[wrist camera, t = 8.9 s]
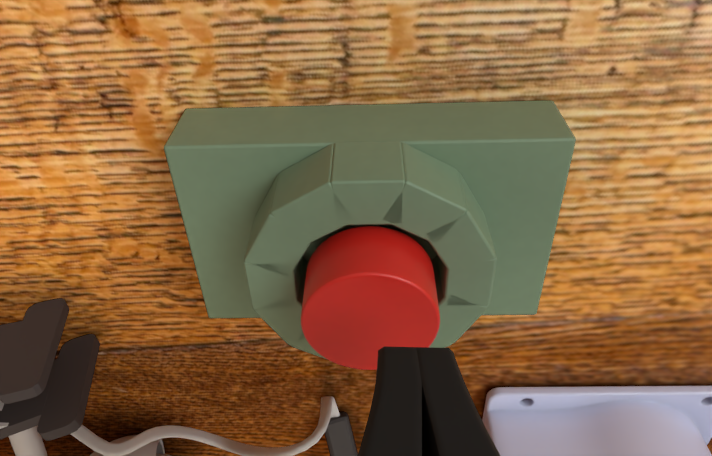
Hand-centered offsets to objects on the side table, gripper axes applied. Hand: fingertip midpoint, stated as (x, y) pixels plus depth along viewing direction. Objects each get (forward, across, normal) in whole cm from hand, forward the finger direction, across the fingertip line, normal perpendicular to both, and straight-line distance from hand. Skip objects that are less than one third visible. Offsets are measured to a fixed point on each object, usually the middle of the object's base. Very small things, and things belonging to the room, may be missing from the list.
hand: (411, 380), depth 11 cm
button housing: (+7, +1, +1) cm, 7 cm away
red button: (+4, +1, +1) cm, 4 cm away
